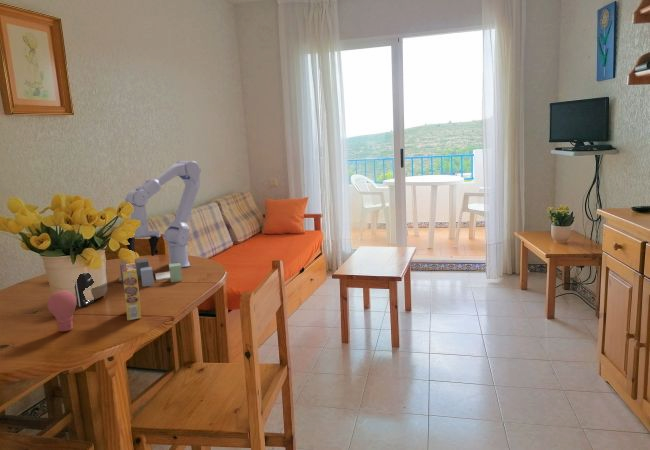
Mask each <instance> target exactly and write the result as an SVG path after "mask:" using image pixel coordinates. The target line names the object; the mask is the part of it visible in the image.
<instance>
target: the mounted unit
mask: <svg viewBox="0 0 650 450" xmlns="http://www.w3.org/2000/svg"><path fill="white" fill-rule="evenodd" d="M134 260H135V265H136V270H137V278H138V281H140V280H141V281H142V278H141V269H140V268H145V267H150V265H149V258H140V259H134ZM125 261H126V260H125ZM125 261H120V262H119V267H120V275H119V276H118V283H119V284H120V283H123V276H122V266H121V265H124V264H128V263H127V262H125Z"/></svg>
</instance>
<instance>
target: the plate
mask: <svg viewBox="0 0 650 450" xmlns="http://www.w3.org/2000/svg"><path fill="white" fill-rule="evenodd" d="M154 274H155V281H163V280H168V279H169V280H170V271H169V270H168V271H163V272H157V273H156V272H155V273H154Z"/></svg>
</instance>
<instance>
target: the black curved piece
mask: <svg viewBox="0 0 650 450" xmlns="http://www.w3.org/2000/svg"><path fill="white" fill-rule="evenodd" d="M75 283H76V284H75V286H74V290H75V297H76V301H77V303H76V305H77V307H80V308H81V307H88V306H90V305H92V303H94V302H95V301H94V300H92V301H89V300H88V301H89V302H87V300H86V298H85V296H84V294H83V291H84V290H85V288H88V287H89V286H91V287H92V285H94V284H95V283H94V281H93V279H92V277H91V275H90V274H89V273H83V274H80V275H79V277H78V279H77V281H76V282H75ZM93 283H94V284H93Z"/></svg>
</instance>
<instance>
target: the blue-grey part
mask: <svg viewBox="0 0 650 450" xmlns="http://www.w3.org/2000/svg"><path fill="white" fill-rule="evenodd" d="M140 269H141V278H142V279H141V286H142V287H143V288H144V287H150V286H154V285H155V281H154V280H155V279H154V272H153V266H149V267H145V268H140Z"/></svg>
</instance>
